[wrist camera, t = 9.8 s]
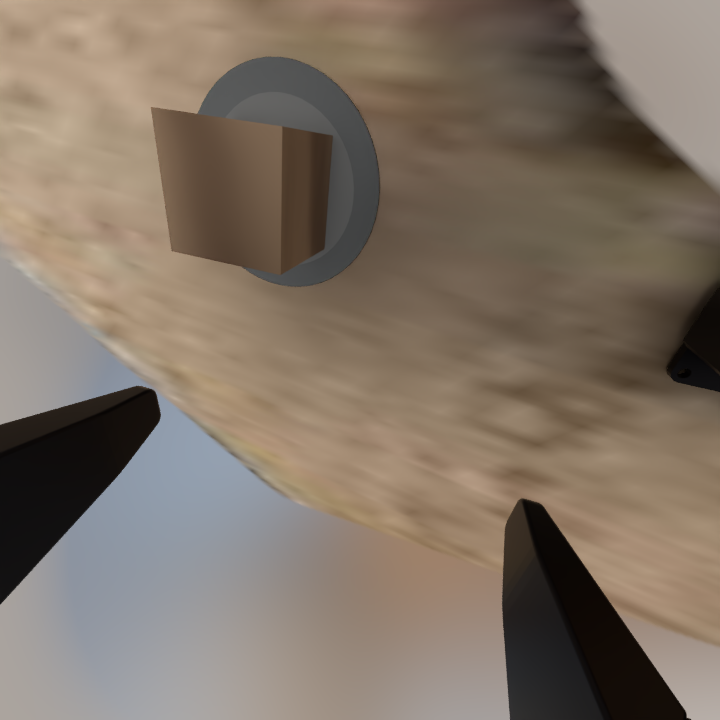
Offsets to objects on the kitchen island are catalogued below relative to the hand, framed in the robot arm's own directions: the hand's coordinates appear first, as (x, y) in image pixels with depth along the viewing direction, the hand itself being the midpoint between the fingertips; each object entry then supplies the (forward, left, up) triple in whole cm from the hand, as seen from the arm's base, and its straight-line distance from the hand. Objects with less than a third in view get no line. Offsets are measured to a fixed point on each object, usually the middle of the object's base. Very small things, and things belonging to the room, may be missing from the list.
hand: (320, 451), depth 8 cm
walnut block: (+7, -4, -12) cm, 14 cm away
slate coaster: (+7, -4, -12) cm, 14 cm away
